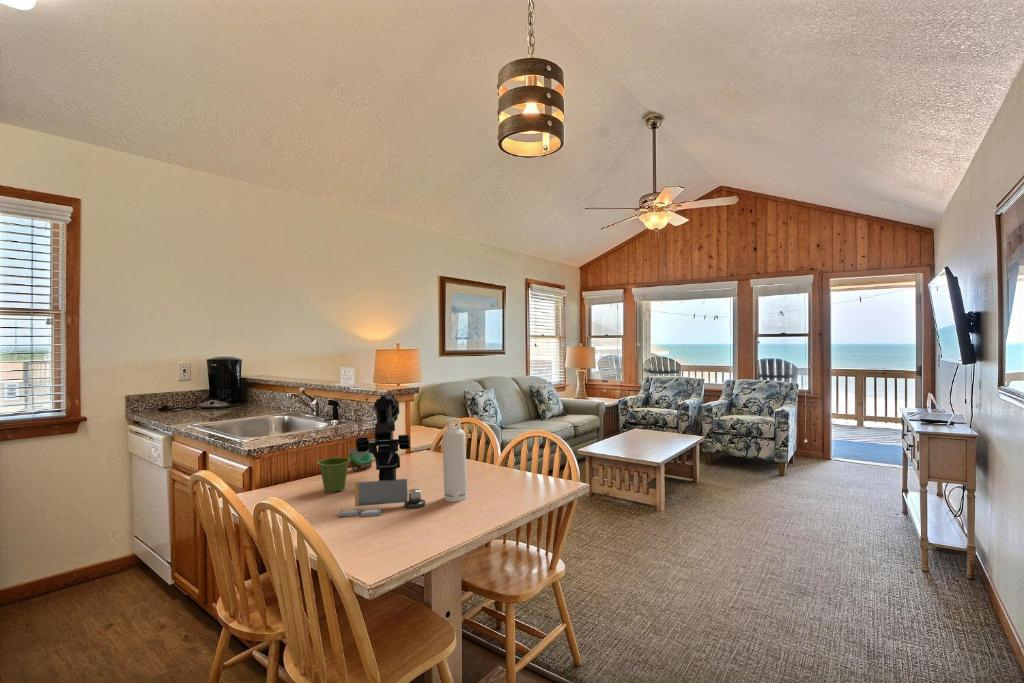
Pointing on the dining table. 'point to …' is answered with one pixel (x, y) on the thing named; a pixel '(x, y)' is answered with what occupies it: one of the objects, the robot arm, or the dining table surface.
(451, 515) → the dining table surface
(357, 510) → the label plaque
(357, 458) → the food container
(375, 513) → the label plaque
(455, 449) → the bottle
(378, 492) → the swing bar
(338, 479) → the plant pot
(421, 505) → the pivot base
